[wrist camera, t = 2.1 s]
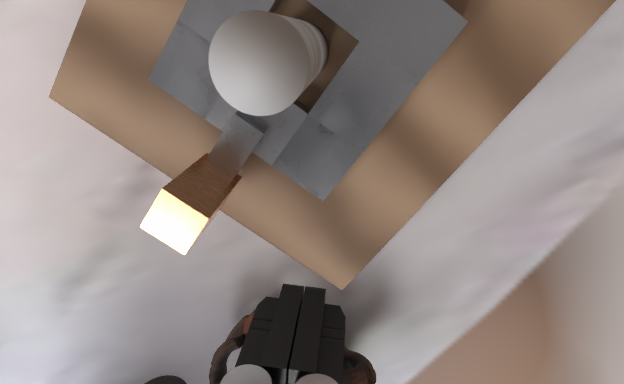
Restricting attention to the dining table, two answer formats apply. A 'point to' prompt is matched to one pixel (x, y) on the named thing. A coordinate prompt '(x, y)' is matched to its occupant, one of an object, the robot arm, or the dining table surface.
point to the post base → (307, 89)
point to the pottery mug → (355, 366)
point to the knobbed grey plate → (296, 118)
